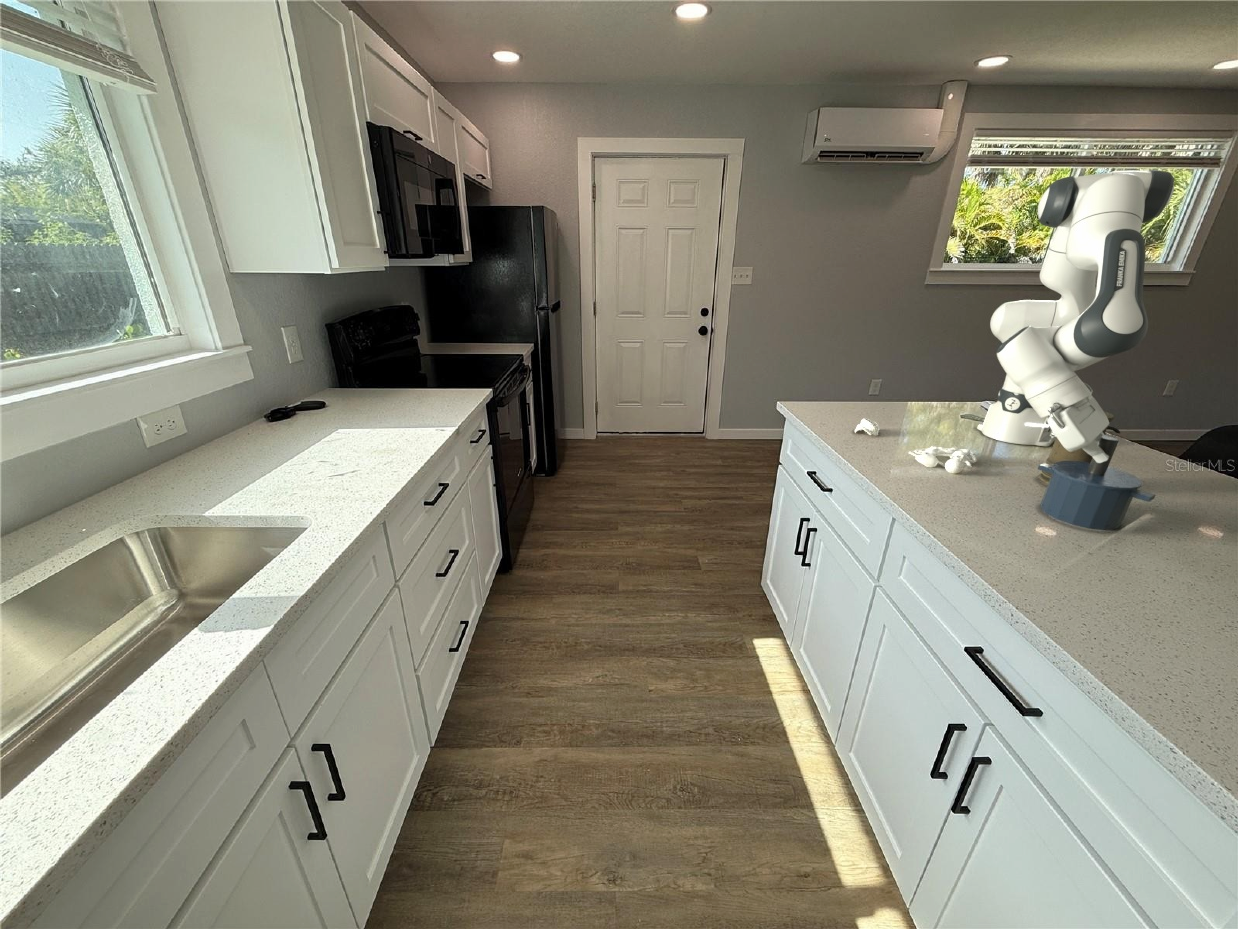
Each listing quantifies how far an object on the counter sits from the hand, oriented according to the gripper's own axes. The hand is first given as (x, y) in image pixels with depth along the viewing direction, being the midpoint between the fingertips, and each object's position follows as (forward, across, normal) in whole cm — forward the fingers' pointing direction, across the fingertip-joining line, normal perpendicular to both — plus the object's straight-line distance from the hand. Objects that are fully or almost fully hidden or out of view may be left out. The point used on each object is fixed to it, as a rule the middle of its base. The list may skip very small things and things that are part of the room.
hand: (1106, 457), depth 96 cm
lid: (+2, 0, +3) cm, 4 cm away
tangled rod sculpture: (-12, +10, +31) cm, 35 cm away
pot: (+9, 0, +10) cm, 14 cm away
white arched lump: (-29, +19, +48) cm, 59 cm away
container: (+5, +17, +14) cm, 23 cm away
